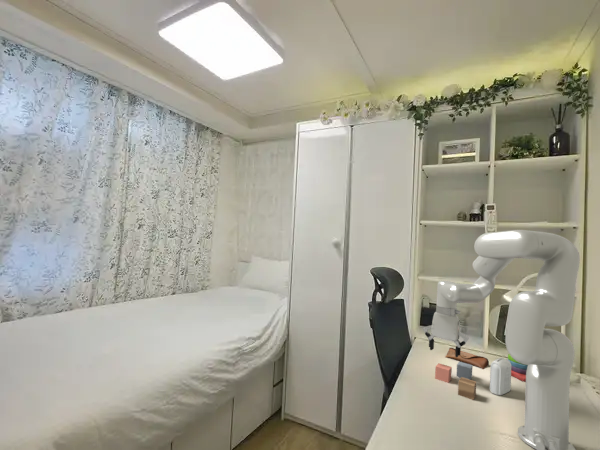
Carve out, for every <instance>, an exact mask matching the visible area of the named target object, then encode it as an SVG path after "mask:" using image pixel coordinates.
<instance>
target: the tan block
mask: <svg viewBox="0 0 600 450" xmlns="http://www.w3.org/2000/svg"><path fill="white" fill-rule="evenodd" d="M457 396H461V397H463V398H466V399H469V400H471V401H474V400H475V398H476V396H477V381H475V380H472V379H471V380H469V379H466V378H463V377H461V378H460V377H459V380H458V385H457Z"/></svg>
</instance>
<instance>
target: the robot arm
mask: <svg viewBox="0 0 600 450" xmlns="http://www.w3.org/2000/svg"><path fill="white" fill-rule="evenodd" d="M473 245H474V246H473V247H474V248H473V249H474V252H475V253H476V254H477V255H478V256H477V257H476V259H474V261H472V268H473V271H474V272H475V273H476V274H477V275H478V276H479V277H478V278H477V279H476V280H475V281H474V282H473V283H458V282H457V283H456V282H455V281H450V280H439V281H438V282H437V284H436V285H437V286H436V287H437V288H436V289H437V290H436V306H435V307H436V309H435V312H434V313H433V316H432V321H431V322H432V323H431V325H427V326H424V327H422V329H423V332H424V334H425V336H426V337H427V339H428V347H429V350H430V351H433V350H434V348H435V338H437V339H441V340H446V341H451V342H453V343H454V344H455V349H456V350H455V357H458V356H459V355H460V351H462V350H461V347H462V346H465V345H466V344H467V342H469V339H470V338H469V336H467V335H466V334H465V333H463V332H462V331H460V319H459V316H458V315H461V310H458V308H457V305H458V304H479V303H482V302H483V301H484V300H485V299H486V298H487V297H490V296H489V295H491V294H492V293H493V291H494V290H495V287H496V278H497V276H498V275H499V274H500V273H501V272H502V271H503V270H504V269H505V268H506V267H507V266H509V265H510V264H511V263H512V262H513V261H514V260H515V259H525V260H538V261H543V264H542V265H541V267H540V269H539V270H538V272H537V275H536V283H535V288H534V290H525V291H521V292H518V293H516V294H515V295H514V296H513V297H512V299H511V301H510V302H509V306H508V313H507V320H506V321H507V322H506V329H505V330H506V331H505V337H504V338H505V341H504V342H505V347H506V350H507V353H508V354H510V356H511V357H512V358H513V359H514V360H515V361H517V362H519V363H521V364H525V365H528V367H527V371H526V382H525V388H524V389H525V395H524V396H525V397H524V398H525V399H524V400H525V401H524V425H520V426H519V427H518V428H517V435H518V437H520V439H521V440H522V441H523V442H524V443H525V444H527V445H528V446H530V447H531V448H533V449H535V450H576V447H575V446H574V445H573V444H572V443H571V442H570V440H569V433H570V432H569V430H570V429H569V428H570V427H569V426H570V390H571V389H570V388H571V386H570V384H571V374H572V369H573V364H574V362H575V361H574V360H575V354H576V353H575V347H574V344H573V342H572V341H571V340H570V338H569V337H568V336H567V335H566V334H564V333H563V332H560V331H558V330H557V329H552V328H545V327H562V326H566V325H568V324H569V323H570V322H571V320H572V318H573V313H574V305H575V298H576V297H575V295H576V288H577V287H576V286H577V285H576V284H577V278H578V273H579V269H580V264H581V258H580V252H579V250H578V248H577V247H576V245H575V244H574V243H573V242H572V241H571V240H569V239H568V238H566V237H564V236H562V235H559V234H556V233H553V232H545V231H534V230H529V229H527V230H526V229H512V230H503V231H492V232H484V233H483V234H481V235H479V236H478V237H477V238H476V239H475V241H474V244H473ZM429 330H430V331H429ZM430 333H431V334H430ZM460 337H461V338H462V339H463V340H462V341H460V340H459V339H460Z"/></svg>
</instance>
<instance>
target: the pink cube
mask: <svg viewBox="0 0 600 450" xmlns="http://www.w3.org/2000/svg"><path fill="white" fill-rule="evenodd" d="M434 368H435V373H434V375H435V376H434V379H435V380H438V381H441V382H444V383H448V384H449V383H450V382H451V380H452V368H453V367H452V366H451V365H450V366H449V365H447V364H446V365H445V364H444V363H437V365H435V367H434Z"/></svg>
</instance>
